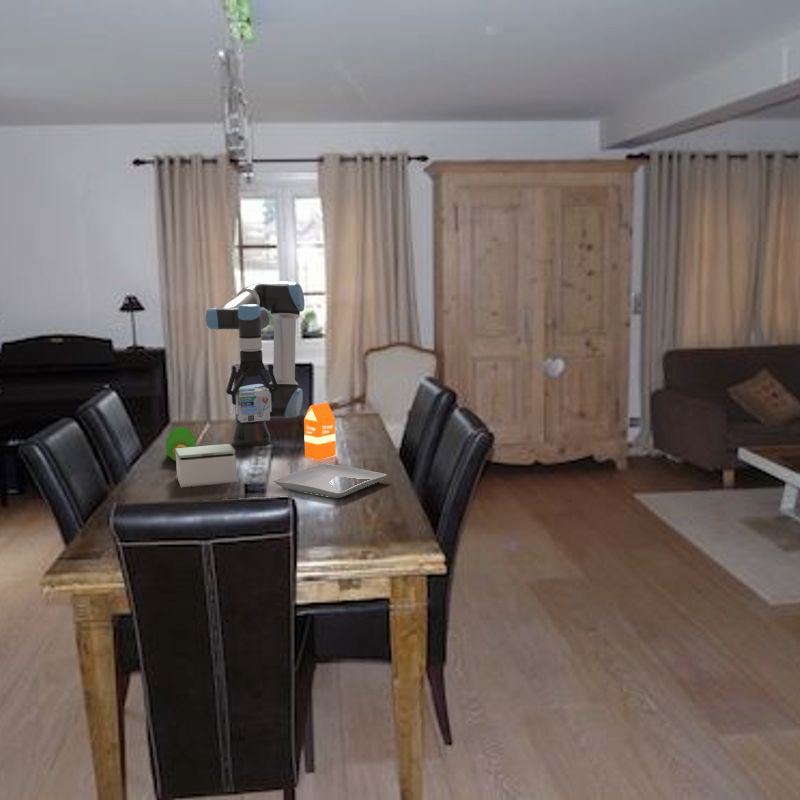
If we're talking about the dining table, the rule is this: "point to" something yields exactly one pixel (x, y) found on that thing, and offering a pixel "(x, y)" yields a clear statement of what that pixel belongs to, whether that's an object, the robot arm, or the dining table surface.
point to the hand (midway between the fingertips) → (253, 412)
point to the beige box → (206, 470)
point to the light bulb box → (253, 404)
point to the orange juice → (319, 432)
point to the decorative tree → (179, 441)
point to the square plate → (327, 479)
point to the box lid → (204, 450)
